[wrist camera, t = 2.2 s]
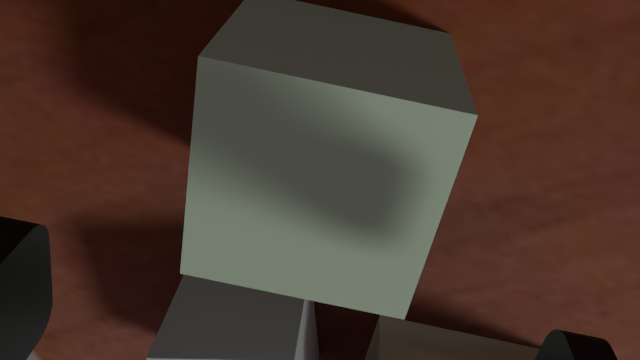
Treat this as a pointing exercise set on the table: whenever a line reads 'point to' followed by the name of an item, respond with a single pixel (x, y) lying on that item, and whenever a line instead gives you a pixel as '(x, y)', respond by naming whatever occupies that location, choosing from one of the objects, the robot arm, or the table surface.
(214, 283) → the grey block
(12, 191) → the table surface
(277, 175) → the green cube
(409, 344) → the maple block
